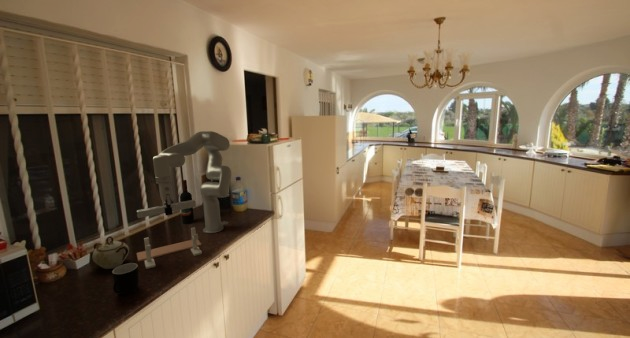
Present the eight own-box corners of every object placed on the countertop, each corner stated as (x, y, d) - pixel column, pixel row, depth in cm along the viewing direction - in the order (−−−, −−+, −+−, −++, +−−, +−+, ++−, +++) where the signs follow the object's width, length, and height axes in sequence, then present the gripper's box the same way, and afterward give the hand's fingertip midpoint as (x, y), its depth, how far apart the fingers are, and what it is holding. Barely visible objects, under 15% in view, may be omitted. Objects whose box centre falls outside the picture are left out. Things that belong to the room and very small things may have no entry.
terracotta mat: (197, 239, 173) (197, 238, 172) (201, 245, 164) (201, 244, 164) (136, 254, 155) (136, 253, 155) (138, 261, 147) (138, 260, 147)
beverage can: (202, 217, 211) (201, 202, 208) (204, 214, 217) (202, 199, 215) (212, 217, 212) (211, 201, 210) (214, 214, 219) (212, 198, 217)
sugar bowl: (141, 259, 149) (138, 231, 147) (116, 274, 135) (112, 244, 132) (110, 256, 153) (106, 229, 151) (82, 270, 139) (77, 241, 136)
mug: (124, 284, 127) (121, 263, 125) (145, 284, 127) (142, 262, 125) (105, 301, 115) (101, 278, 113) (127, 301, 115) (124, 278, 113)
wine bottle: (196, 221, 204) (192, 179, 199) (187, 224, 197) (183, 181, 192) (188, 219, 207) (184, 178, 202) (179, 223, 200) (175, 181, 195)
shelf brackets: (198, 248, 161) (196, 226, 158) (202, 253, 154) (200, 230, 152) (144, 262, 146) (141, 238, 144) (146, 269, 139) (143, 243, 137)
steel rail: (194, 205, 159) (193, 199, 159) (195, 206, 157) (195, 201, 156) (137, 216, 144) (136, 210, 143) (138, 218, 141) (137, 212, 140)
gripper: (175, 181, 143) (179, 216, 146) (168, 175, 156) (172, 208, 159) (158, 183, 138) (163, 220, 142) (153, 177, 151) (157, 211, 155)
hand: (168, 213), depth 151 cm, fingers closed on steel rail, 3 cm apart
